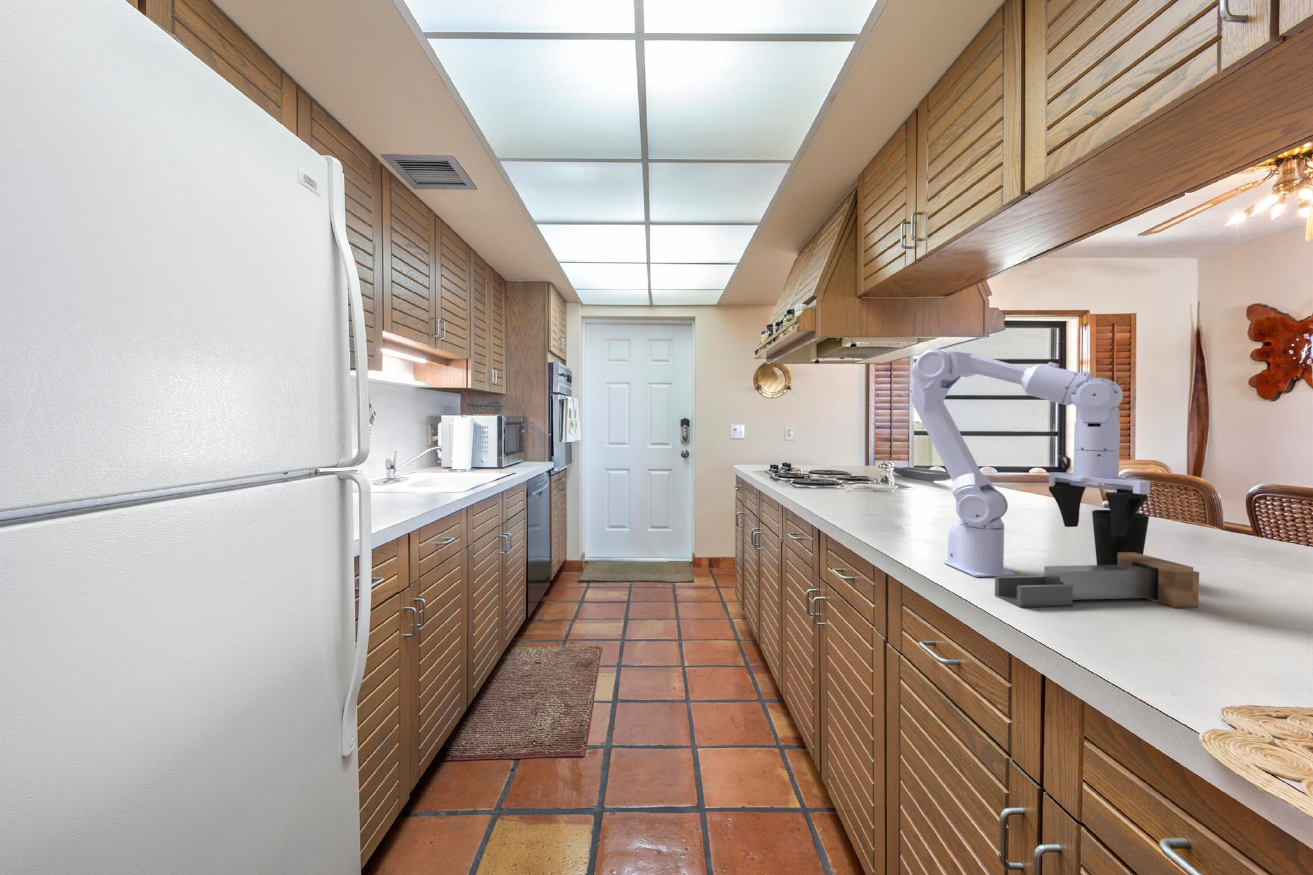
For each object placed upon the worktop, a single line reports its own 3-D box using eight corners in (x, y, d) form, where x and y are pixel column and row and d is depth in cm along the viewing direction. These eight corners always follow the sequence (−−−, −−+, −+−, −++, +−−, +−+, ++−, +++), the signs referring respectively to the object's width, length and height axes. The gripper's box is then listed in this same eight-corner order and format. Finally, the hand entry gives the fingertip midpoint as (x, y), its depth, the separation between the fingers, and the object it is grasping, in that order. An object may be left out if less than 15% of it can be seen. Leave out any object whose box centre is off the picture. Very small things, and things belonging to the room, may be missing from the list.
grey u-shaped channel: (994, 595, 83) (995, 576, 83) (1043, 594, 84) (1043, 575, 83) (1020, 607, 78) (1021, 587, 78) (1072, 606, 78) (1072, 585, 78)
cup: (1158, 586, 88) (1160, 518, 87) (1107, 583, 89) (1109, 516, 89) (1127, 573, 95) (1128, 510, 95) (1080, 570, 97) (1082, 509, 96)
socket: (1116, 588, 86) (1117, 552, 86) (1138, 588, 87) (1139, 552, 87) (1174, 608, 77) (1175, 567, 77) (1198, 607, 78) (1199, 567, 78)
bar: (1043, 593, 82) (1044, 565, 82) (1145, 591, 84) (1146, 563, 83) (1059, 600, 79) (1060, 571, 79) (1165, 597, 81) (1166, 569, 80)
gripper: (1035, 448, 90) (1033, 523, 90) (1125, 453, 76) (1123, 542, 76) (1067, 447, 91) (1065, 521, 92) (1161, 452, 77) (1159, 540, 78)
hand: (1093, 531), depth 84 cm, fingers open, 7 cm apart
